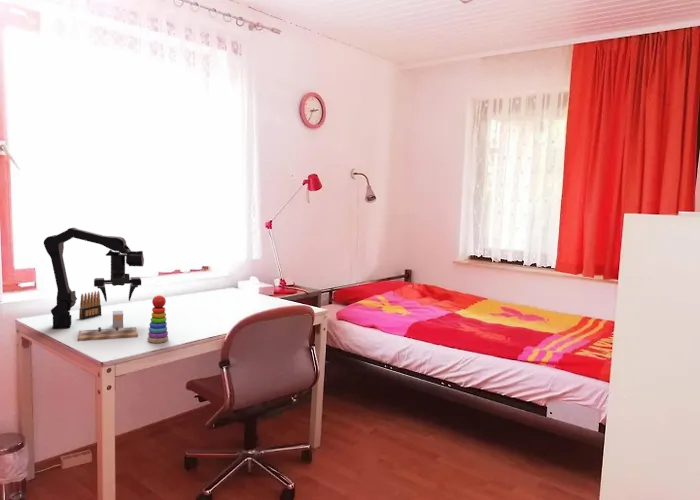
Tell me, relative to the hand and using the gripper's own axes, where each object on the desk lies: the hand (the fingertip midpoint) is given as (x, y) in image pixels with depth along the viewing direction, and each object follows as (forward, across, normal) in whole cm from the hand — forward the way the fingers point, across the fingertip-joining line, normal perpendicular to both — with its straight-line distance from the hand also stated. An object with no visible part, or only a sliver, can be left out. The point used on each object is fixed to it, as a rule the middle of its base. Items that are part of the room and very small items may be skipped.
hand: (117, 301), depth 226 cm
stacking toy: (+12, +14, -27) cm, 33 cm away
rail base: (+11, -4, -13) cm, 18 cm away
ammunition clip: (+12, -11, +20) cm, 26 cm away
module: (+11, 0, 0) cm, 11 cm away
